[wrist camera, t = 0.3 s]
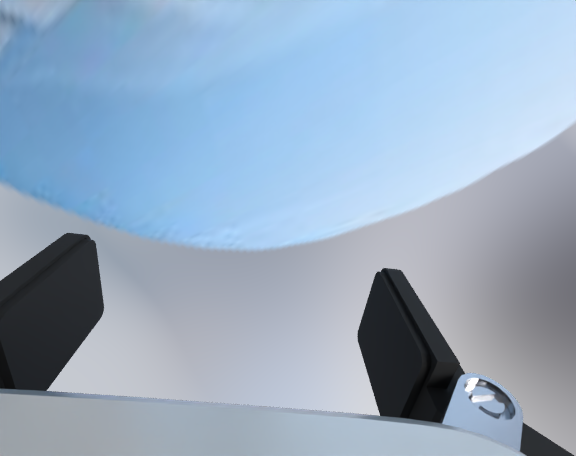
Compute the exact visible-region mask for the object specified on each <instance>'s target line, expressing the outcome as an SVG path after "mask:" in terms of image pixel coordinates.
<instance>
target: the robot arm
mask: <svg viewBox="0 0 576 456" xmlns="http://www.w3.org/2000/svg"><path fill="white" fill-rule="evenodd" d="M103 311H104V304H103V296H102V288H101V281H100V273H99V265H98V258H97V249H96V243H95V241H93V240H91V239H90V237H89V236H88V235H83V234H74V233H66V234H64V235H63V236H62V237H60V238H59V239H57V240H56V241H55V242H53V243H52V244H51V245H49V246H48V247H46V248H45V249H44V250H42V251H41V252H39V253H38V254H37V255H36V256H34V257H33V258H31V259H30V260H29V261H27V262H26V263H24V264H23V265H22V266H20V267H19V268H17V269H16V270H15V271H13V272H12V273H11V274H9V275H8V276H6V277H5V278H4V279H2V280H1V281H0V456H574V455H572V454H571V453H569V452H568V451H566V450H565V449H563V448H561V447H560V446H558V445H557V444H555V443H554V442H552V441H551V440H549V439H548V438H546V437H544V436H543V435H541V434H540V433H538V432H537V431H535V430H534V429H532V428H531V427H529V426H527V425H526V424H524V423H523V413H522V409H521V407H520V405H519V403H518V401H517V400H516V399H515V398H514V396H513V395H512V394H511V393H510V392H509V391H508V390H506V389H505V388H504V387H503V386H502V385H500V384H499V383H497V382H496V381H494V380H492V379H490V378H488V377H486V376H484V375H480V374H476V373H467V374H465V373H464V371H463V369H462V368H461V366H460V365H459V364H460V363H459V361H458V359H457V358H456V356H455V355H454V353H453V352H452V350H451V348H450V347H449V345H448V344H447V342H446V340H445V339H444V337H443V336H442V334H441V333H440V331H439V329H438V328H437V326H436V325H435V323H434V321H433V320H432V319H431V317H430V315H429V314H428V312H427V310H426V309H425V307H424V306H423V304H422V303H421V301H420V299H419V298H418V296H417V295H416V293H415V291H414V290H413V288H412V287H411V285H410V283H409V282H408V280H407V279H406V277H405V276H404V274H403V272H402V271H401V270H397V269H388V268H384V269H382V270H381V272H377V273H376V275H375V278H374V281H373V284H372V287H371V291H370V294H369V297H368V300H367V304H366V307H365V310H364V314H363V317H362V320H361V323H360V326H359V330H358V343H359V346H360V349H361V352H362V356H363V359H364V363H365V366H366V369H367V373H368V376H369V379H370V383H371V386H372V390H373V393H374V396H375V400H376V403H377V406H378V410H379V413H380V416H375V415H364V414H354V413H343V412H330V411H317V410H305V409H292V408H279V407H266V406H253V405H239V404H225V403H212V402H211V403H210V402H198V401H183V400H170V399H156V398H142V397H127V396H112V395H97V394H82V393H67V392H52V391H47V389H48V388H49V387H50V385H51V384H52V383H53V381H54V380H55V379H56V377H57V376H58V375H59V373H60V372H61V371H62V369H63V368H64V367H65V365H66V364H67V362H68V361H69V360H70V358H71V357H72V356H73V354H74V353H75V351H76V350H77V349H78V348H79V346H80V345H81V344H82V342H83V341H84V340H85V338H86V337H87V336H88V334H89V333H90V332H91V330H92V329H93V328H94V326H95V325H96V324H97V322H98V321H99V320H100V318H101V317H102V314H103Z"/></svg>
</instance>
